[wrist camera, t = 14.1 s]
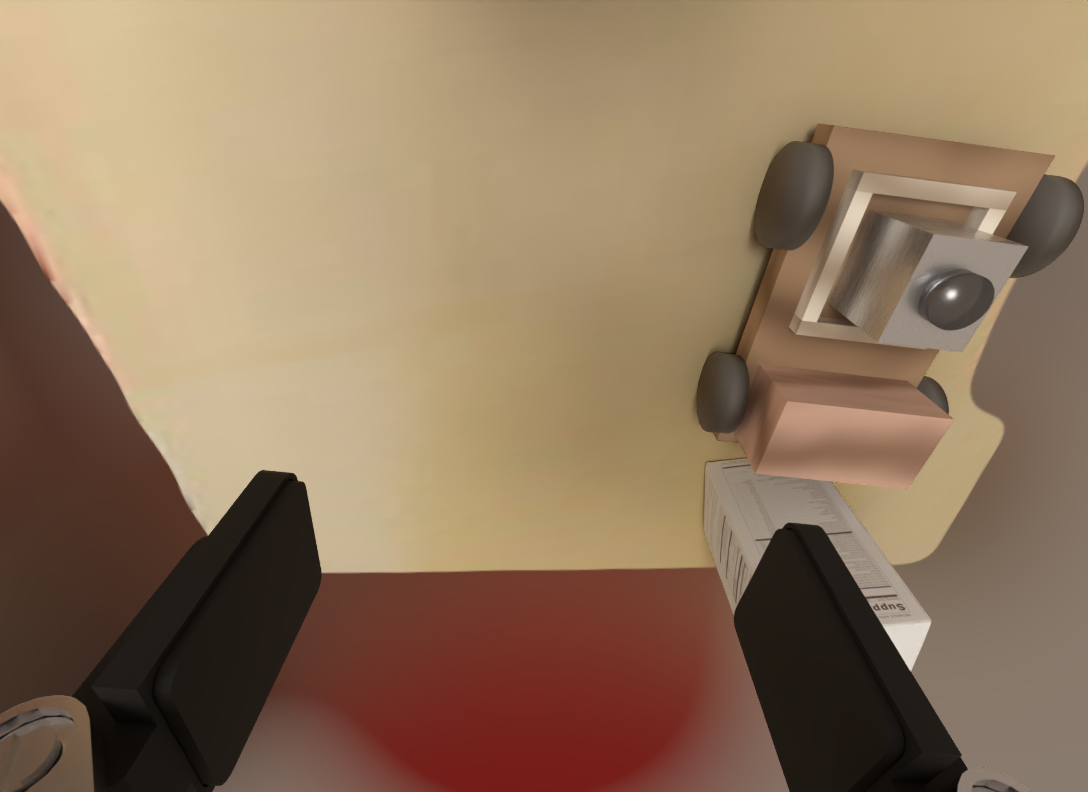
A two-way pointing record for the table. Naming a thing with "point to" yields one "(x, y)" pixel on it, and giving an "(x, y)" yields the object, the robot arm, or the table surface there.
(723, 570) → the supplement box
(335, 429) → the table surface
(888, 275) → the block with dome knob
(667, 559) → the table surface
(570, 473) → the table surface
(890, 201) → the chassis
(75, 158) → the table surface
